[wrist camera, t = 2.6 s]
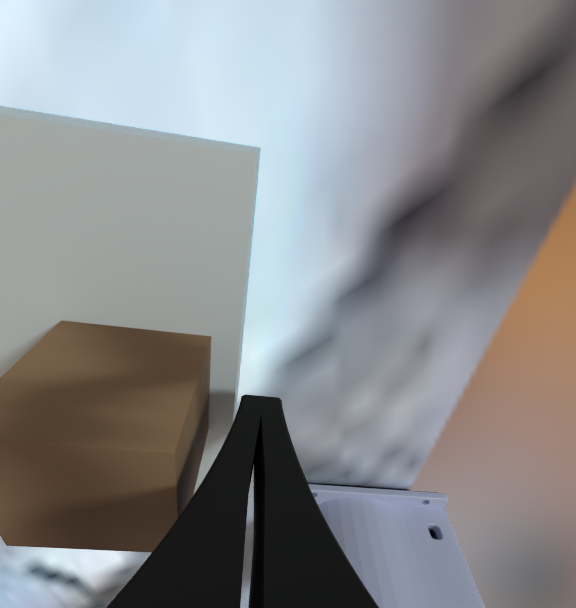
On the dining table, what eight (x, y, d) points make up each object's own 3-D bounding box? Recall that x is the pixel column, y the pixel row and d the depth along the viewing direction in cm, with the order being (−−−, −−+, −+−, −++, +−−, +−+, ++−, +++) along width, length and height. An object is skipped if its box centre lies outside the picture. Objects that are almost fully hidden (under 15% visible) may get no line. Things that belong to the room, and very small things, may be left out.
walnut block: (211, 336, 11) (174, 453, 7) (208, 429, 14) (179, 553, 10) (61, 320, 11) (-63, 436, 7) (86, 419, 13) (6, 545, 9)
